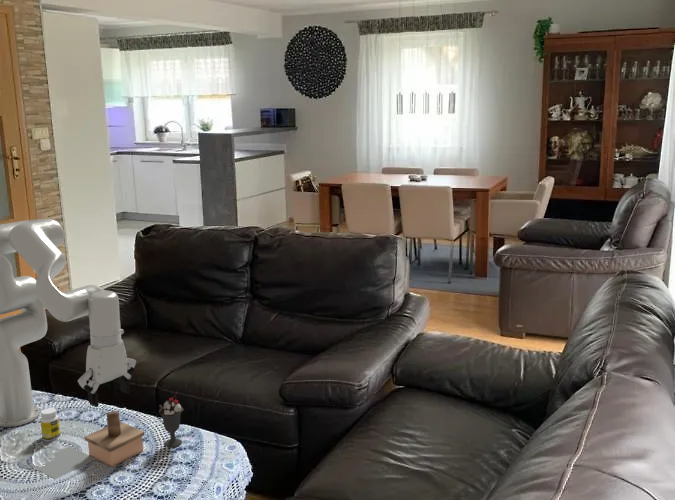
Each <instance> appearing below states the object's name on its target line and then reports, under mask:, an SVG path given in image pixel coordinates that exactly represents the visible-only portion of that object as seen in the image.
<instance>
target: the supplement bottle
mask: <svg viewBox="0 0 675 500" xmlns="http://www.w3.org/2000/svg"><path fill="white" fill-rule="evenodd" d="M57 413H58V412H57V409H56V407H47V408H44V409H43V410H41V412H40V414H41V418H40V426H41V427H40V428H41V429H40V431H41V438H42V440H43V441H46V442H50V441H54V440H58V439H59V438H60V437H61V430H60V420H59V415H58V414H57Z"/></svg>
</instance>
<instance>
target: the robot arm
mask: <svg viewBox="0 0 675 500" xmlns="http://www.w3.org/2000/svg"><path fill="white" fill-rule="evenodd" d="M65 235H66V234H65V230H64V228H63V227H62V225H61V224H60V223H59V222H58V221H57V220H55V219H52V218H43V219H42V218H41V219H27V220H20V221H15V222H9V223H2V224H0V315H6V314H9V313H13V312H17V311H20V310H21V312H19V313H16V314H13V315H9V316H5V317H2V318H0V427H4V428H12V427H19V426H22V425H23V426H24V425H26V424H28V423H30V422H33V421H34V420H36V419H37V418H38V417H39V416H40V414H41V412H40V408H39V407H37V406H35V405H34V403H33V392H32V385H31V375H30V369H29V368H30V367H29V361H28V358H27V356H26V355H25V354H23V352H22V351H20V349H19V348H20V347H23V346H25V345H28V344H30V343H33V342H37V341H39V340H41V339H42V338H44V337H45V336H46V334H47V331H48V321H47V320H48V319H47V314H46V310H47V311H48V313H50V315H52V317H54V319H56V320H58V321H60V322H64V323H65V322H71V321H73V320H77V319H80V318H83V317H85V316H88V321H89V335H90V345H88V346H87V351H86V359H85V360H86V361H85V372H84V373H83V374H82V375H81V376H80V377H79V378H78V380H77V383H78V385H79V387H81V389H83V390H85V392H87V397H88V399H87V400H88V404H89V405H90V406H92V407H95V408H98V407H99V406H100V405H99V392H97V390H98V388H99V386H100V385H102V384H105V383H107V382H111V381H113V380H115V379H117V378H119V389H120V390H119V391H120V392H122V393H124V394H127V395H128V394H130V385H131V384H130V380H131V378H132V374H133V372H134V371H135V367H136V363H137V360H136V359H134V358H130V357H127V351H126V347H125V344H124V340H123V339H122V335H123V334H125V330H124V329H123V328H121V316H120V314H121V313H120V301H119V300H120V299H119V295H118V294H117V293H116V292H114V291H111V290H106V289H103V288H102V287H100V286H98V285H96V284H88V285H85V286H81V287H78V288H74V289H71V290H67V291H64V292H61V291H60V290H59V289H58V288H57V287H56V285H55V284H54V283H53V282H52V280H53V279H54V278H55V277H56V276H57V275H59V274H60V273H61V272H62V271H63V269H64V267H65V266H66V263H67V258H66V257H67V256H65V254H64V253H63V252H62V251H61V250H60V249H59V248H58V247H60V246H62V245H63V243H64V241H65V238H66V236H65ZM13 253H18V255H19V256H20V257H21V258H22V259H23V261H24V262H26V264H27V265H28V266H29V267H30V268H31V270H33V271H34V272H35V274H36V278H34V277H32V276H30V275H21V276H17V277H15V276H14V272H13V270H14V269H13V265H12V263H11V262H10V261H9V259H8V258H7V257H6V256H4V255H7V254H13ZM87 381H88V383H87Z"/></svg>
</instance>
